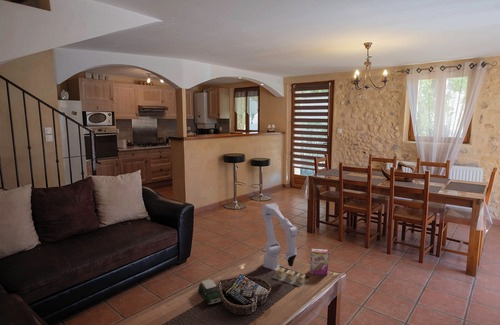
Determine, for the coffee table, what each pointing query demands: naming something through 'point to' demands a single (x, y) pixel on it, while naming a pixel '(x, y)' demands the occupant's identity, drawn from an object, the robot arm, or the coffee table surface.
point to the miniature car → (209, 291)
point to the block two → (300, 278)
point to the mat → (290, 281)
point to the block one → (280, 272)
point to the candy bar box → (319, 261)
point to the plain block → (290, 275)
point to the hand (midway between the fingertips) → (290, 265)
